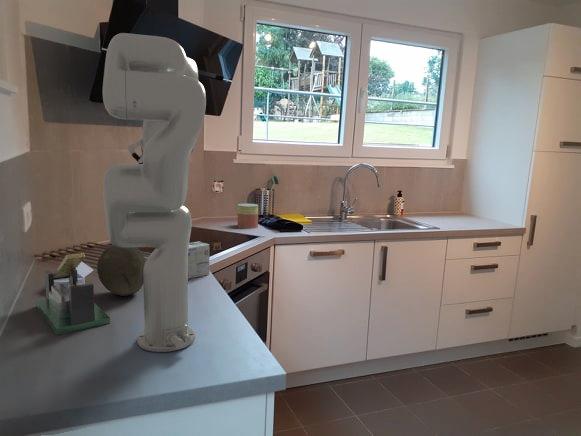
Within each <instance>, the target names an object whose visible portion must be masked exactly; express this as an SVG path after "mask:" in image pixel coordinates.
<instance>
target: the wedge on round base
mask: <svg viewBox="0 0 581 436" xmlns="http://www.w3.org/2000/svg"><path fill="white" fill-rule="evenodd" d="M76 270H77V279H78V281H79V282H80V283H82V284H86V277H87V276H89V274H91V273H92V272H93V271H94V268H92V267H91V266H90V265H88V264H86V263H84V262H83V260H82V261H81V263H80V264H79V265H78V267H77V268H76ZM68 283H69V278H65V279H58V280H54V285H55V286H56V288H57V289H58V290H60V284H63V285H64V286H65V287H66V288H67V289H68Z"/></svg>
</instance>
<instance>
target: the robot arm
mask: <svg viewBox="0 0 581 436" xmlns="http://www.w3.org/2000/svg"><path fill="white" fill-rule="evenodd" d="M109 41H110V42H109V44H108V46H107V49H106V55H105V62H104V71H103V81H102V101H103V105H104V108H105V110H106V112H107V113H108V114H109V115H110V116H112V117H113V118H114V119H119V120H120V119H121V120H132V121H143V123H142V129H141V139H140V140H138V141H136V142H133V143H132V144H130V145H127V149H128V150H127V151H128V152H129V154H130V155H131V157H132V158H133V159H134V160H135V161H136V162H137V163H118V164H114V165H112V166H110V167H109V168H108V169H107V170H106V171H105V174H104V177H103V183H102V184H103V185H102V195H103V196H102V197H103V206H104V207H103V208H104V215H105V227H106V233H107V237H108V240H109V242H110V243H111V245H114V246H116V247H123V248H129V247H137V248H155V249H154V250H153V251H152V252H151V254H150V255H149V256H148V257H147V259H146V262H145V264H144V269H143V278H144V280H143V281H144V284H143V321H144V323H143V325H144V327H143V328H144V330H143V331H141V332H140V333H139V334H138V336H137V339H136V340H137V345H138V346H139V348H141V349H142V350H144V351H145V350H146V351H147V352H148V351H149V352H153V353H168V352H174V351H179V350H182V349H184V348H187V347H188V346H190V345H191V344H193V343H194V341H195V337H196V335H195V331H194V330H193V329H192V328H190V327H189V322H188V321H189V319H188V316H189V315H188V314H189V309H188V308H189V300H188V299H189V292H188V291H189V289H188V288H189V284H188V283H189V281H188V280H189V279H188V248H189V243H190V239H191V233H192V228H193V227H192V224H193V221H192V220H193V218H192V213H191V212H190V210H189V208H187V206H185V205H184V204H185V202H186V199H187V196H188V185H189V175H190V174H189V172H190V171H189V170H190V158H191V155H192V153H193V151H194V147H195V146H196V143H197V141H198V139H199V137H200V134H201V131H202V128H203V124H204V122H205V121H204V120H205V115H206V108H207V107H206V106H207V95H206V90H205V87H204V85H203V84H202V83H201V82H200V81H199V70H198V66H197V63H196V61H195V60H194V59H192V58H190V57H188V56H187V55H186V52H185V50H184V48H183V47H182V46H181V45H180V43H178V42H177V41H176V40H174V39H171V38H168V37H164V36H158V35H146V34H139V33H138V34H136V33H127V32H120V33H118V34H116V35H114V36H113V37H112V38H111V40H109ZM138 147H139V148H140V149H141V155H140V156H139V154H137V152H136V150H135V149H137V148H138Z"/></svg>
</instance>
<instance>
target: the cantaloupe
mask: <svg viewBox="0 0 581 436" xmlns="http://www.w3.org/2000/svg"><path fill="white" fill-rule="evenodd" d="M146 260H147V259H146V258H145V256H144V254H143V252H142V251H141V249H139V247H129V248H123V247H116V246H114V245H113V244H111V245H110V246H108V247H106V248H105V249H104V251H102V252H101V255H100V256H99V258H98V260H97V264H96V266H97V267H96V271H97V277H98V280H99V281H100V283H101V285H103V286H104V288H105V289H106V290H107V291H108V292H110V293H112V294H114V295H118V296H120V297H127V296H132V295H134V294H137V292H139V291H140V290H141V289H142V288H143V287H144V281H143V280H144V278H143V269H144V264H145V262H146Z"/></svg>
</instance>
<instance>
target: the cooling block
mask: <svg viewBox="0 0 581 436" xmlns="http://www.w3.org/2000/svg"><path fill="white" fill-rule="evenodd" d="M53 274H54V273H53V272H52V271H51V270H50V269H49V270H48V269H47V270H44V278H45V295H46V296H45V297H46V299H40V300H36V301H35V307H36V308H37V310H38V311H39V313H40V314H41V315H42V316H43V318H44V320H45V321H46V322H47V324H48V325H49V327H50V328H51V329H52V331H53V332H54V334H56V336H58V335H63V334H67V333H72V332H77V331H81V330H87V329H90V328H94V327H98V326H103V325H104V326H105V325H108V324H111V318H110V316H109V315H108V314H107V313H106V312H105V311H104V310H103V309H102V308H100V307H99V305H97V304H96V303H95V293H94V292H95V290H94V289H95V288H94V284H93V283H92V282H89V283H85V284H82V283H80V282H79V281H78V279H77V270H76V269H75V270H74V272H73V273H72V274H71V276H70V278H69V283H68V289H67V288H66V287H65V286H64V285H63V284H60V290H58V289H57V288H56V286H55V285H54V275H53Z"/></svg>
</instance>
